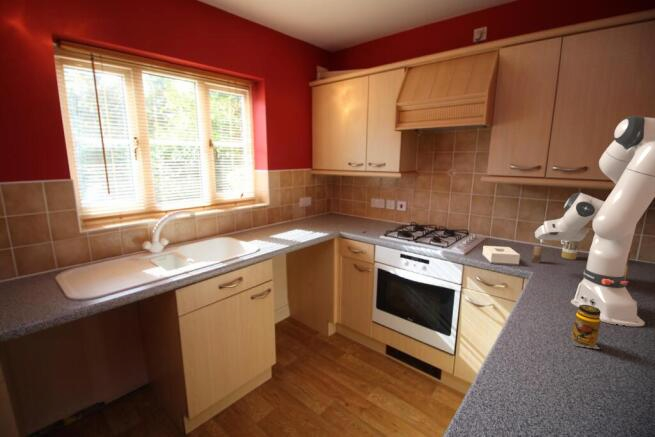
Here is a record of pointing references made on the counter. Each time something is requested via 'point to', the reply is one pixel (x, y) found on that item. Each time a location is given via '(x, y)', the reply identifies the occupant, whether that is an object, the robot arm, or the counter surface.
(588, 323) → the condiment
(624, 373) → the counter surface
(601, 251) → the robot arm
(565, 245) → the bark patterned cylinder
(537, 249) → the peg
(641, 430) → the counter surface
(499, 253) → the socket block
